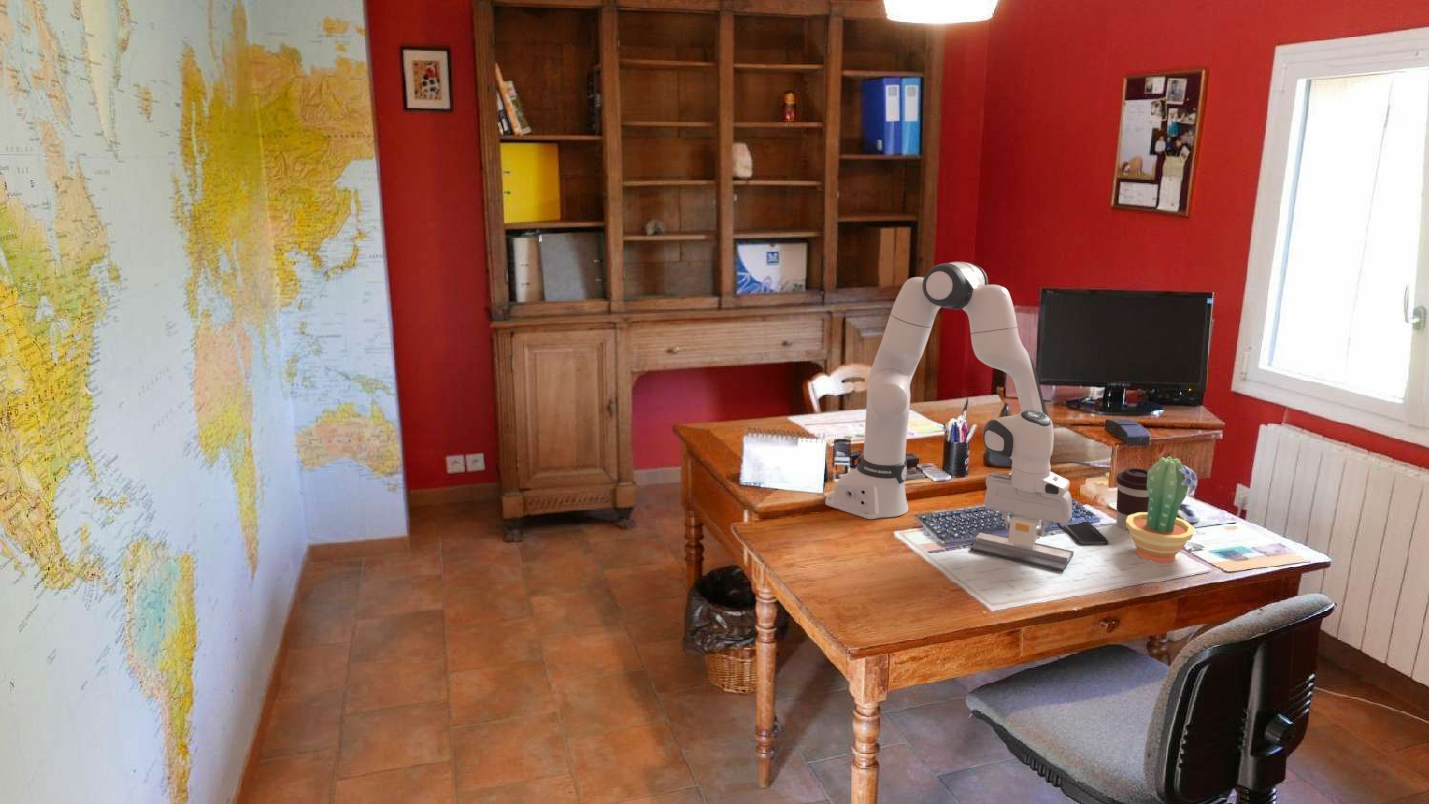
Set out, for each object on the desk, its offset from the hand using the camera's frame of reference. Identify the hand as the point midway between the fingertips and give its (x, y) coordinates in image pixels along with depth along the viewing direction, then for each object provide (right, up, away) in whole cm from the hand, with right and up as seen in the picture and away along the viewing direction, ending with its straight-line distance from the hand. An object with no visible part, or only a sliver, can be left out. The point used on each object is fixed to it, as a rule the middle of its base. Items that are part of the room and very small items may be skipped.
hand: (1024, 531), depth 236 cm
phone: (+19, -2, +13) cm, 23 cm away
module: (0, -2, +1) cm, 2 cm away
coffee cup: (+33, -1, +17) cm, 37 cm away
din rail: (0, -5, +1) cm, 6 cm away
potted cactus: (+32, -6, +1) cm, 33 cm away
